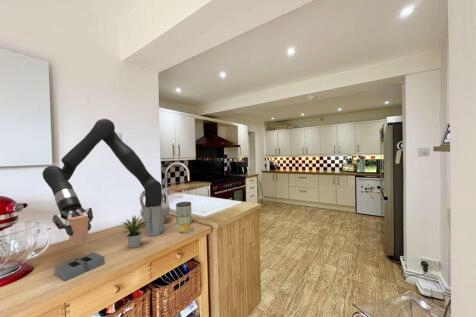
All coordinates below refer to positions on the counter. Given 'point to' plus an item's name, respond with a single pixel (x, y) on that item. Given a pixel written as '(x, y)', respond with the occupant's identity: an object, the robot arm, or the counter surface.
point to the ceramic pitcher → (164, 205)
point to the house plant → (134, 232)
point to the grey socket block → (78, 266)
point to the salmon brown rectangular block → (79, 229)
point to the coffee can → (183, 213)
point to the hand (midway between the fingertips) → (80, 232)
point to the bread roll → (185, 228)
